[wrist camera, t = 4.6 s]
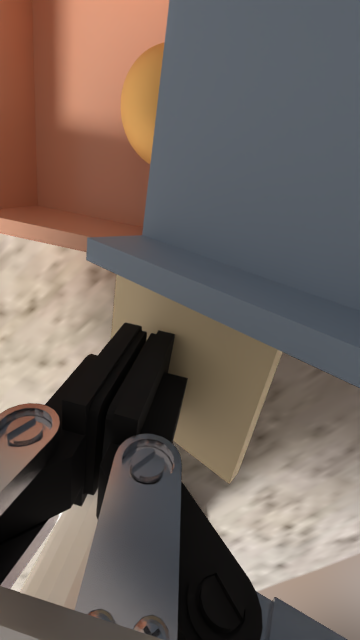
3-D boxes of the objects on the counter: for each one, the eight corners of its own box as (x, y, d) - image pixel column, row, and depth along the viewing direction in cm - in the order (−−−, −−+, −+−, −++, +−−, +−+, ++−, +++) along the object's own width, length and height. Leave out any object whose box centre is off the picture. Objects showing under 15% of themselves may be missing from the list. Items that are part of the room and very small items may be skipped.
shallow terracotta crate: (224, 254, 16) (219, 280, 11) (34, 214, 17) (-41, 224, 12) (289, -26, 11) (325, -167, 7) (25, -60, 12) (-99, -205, 8)
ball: (119, 161, 10) (113, 161, 13) (229, 183, 11) (198, 177, 15) (131, 0, 8) (121, 46, 12) (260, 44, 9) (217, 75, 13)
